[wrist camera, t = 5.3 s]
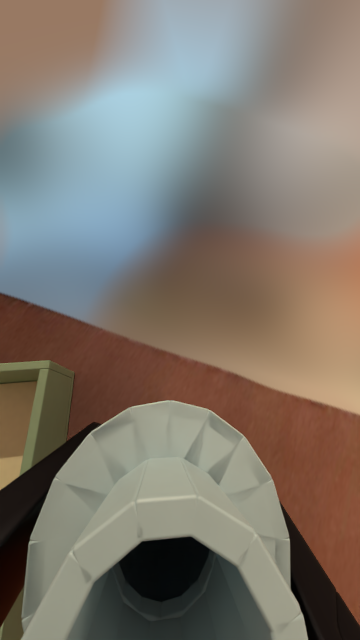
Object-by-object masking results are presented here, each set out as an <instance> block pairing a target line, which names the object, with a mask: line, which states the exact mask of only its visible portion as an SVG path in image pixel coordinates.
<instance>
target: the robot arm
mask: <svg viewBox="0 0 360 640" xmlns="http://www.w3.org/2000/svg"><path fill="white" fill-rule="evenodd" d="M101 425H102V424H99V423H96V422H93V423H91V424H90V425H88V426H87V427H86V428H84V429H83V430H82V431H80V432H79V433H78V434H76V435H75V436H73V437H72V438H71V439H69V440H68V441H67V442H65V443H64V444H63V445H61V446H60V447H58V448H57V449H56V450H54V451H53V452H52V453H50V454H49V455H48V456H46V457H45V458H43V459H42V460H41V461H39V462H38V463H37V464H35V465H34V466H32V467H31V468H30V469H28V470H27V471H26V472H24V473H23V474H22V475H20V476H19V477H17V478H16V479H15V480H13V481H12V482H11V483H9V484H8V485H7V486H5V487H4V488H2V489H1V490H0V628H1V626H2V624H3V622H4V620H5V619H6V617H7V615H8V613H9V612H10V610H11V608H12V606H13V605H14V603H15V601H16V599H17V597H18V596H19V594H20V592H21V590H22V589H23V587H24V584H25V574H26V564H27V554H28V544H29V541H30V536H31V534H32V532H33V529H34V527H35V524H36V522H37V519H38V517H39V514H40V512H41V509H42V507H43V504H44V502H45V499H46V497H47V494H48V492H49V489H50V487H51V484H52V482H53V479H54V478H55V476H56V474H57V473H58V472H59V470H60V469H61V468H62V467H63V465H64V464H65V463H66V462H67V460H68V459H69V458H70V457H71V455H72V454H73V453H74V452H75V450H76V449H77V448H78V447H79V445H80V444H81V443H82V442H83V440H84V439H85V438H86V437H87V435H88V434H89V433H91V432H92V431H93V430H94V429H96V428H97V427H99V426H101ZM279 503H280V506H281V509H282V513H283V516H284V520H285V523H286V527H287V530H288V533H289V539H290V584H291V591H292V593H293V595H294V596H295V598H296V600H297V601H298V603H299V606H300V609H301V612H302V614H303V617H304V621H305V626H306V631H307V636H308V640H360V626H359V624H358V623H357V621H356V620H355V618H354V616H353V615H352V613H351V612H350V610H349V609H348V607H347V606H346V604H345V603H344V601H343V599H342V598H341V596H340V595H339V593H338V592H336V589H335V587H334V585H333V584H332V582H331V581H330V579H329V578H328V576H327V574H326V573H325V571H324V570H323V568H322V567H321V565H320V564H319V562H318V560H317V559H316V557H315V556H314V554H313V553H312V551H311V549H310V548H309V546H308V545H307V543H306V542H305V540H304V538H303V537H302V535H301V534H300V532H299V531H298V529H297V528H296V526H295V524H294V523H293V521H292V520H291V518H290V517H289V515H288V513H287V512H286V510H285V509H284V507H283V506H282V504H281V502H280V501H279Z"/></svg>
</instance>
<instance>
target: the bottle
mask: <svg viewBox="0 0 360 640" xmlns="http://www.w3.org/2000/svg"><path fill="white" fill-rule="evenodd" d="M21 618H22V628H23V632H24V634H23V636H22V638H21V640H308V636H307V631H306V626H305V621H304V617H303V614H302V612H301V609H300V606H299V603H298V601H297V600H296V598H295V596H294V595H293V593H292V591H291V584H290V539H289V533H288V530H287V527H286V523H285V520H284V516H283V513H282V509H281V506H280V503H279V499H278V496H277V492H276V489H275V485H274V482H273V480H272V478H271V476H270V474H269V472H268V471H267V469H266V468H265V466H264V465H263V463H262V462H261V460H260V459H259V457H258V456H257V454H256V453H255V451H254V450H253V448H252V447H251V445H250V444H249V442H248V440H247V439H246V437H244V436H243V434H241V433H240V432H239V431H237V430H236V429H235V428H233V427H232V426H231V425H230V424H228V423H227V422H226V421H224V420H223V419H222V418H220V417H219V416H218V415H216V414H215V413H214V412H212V411H211V410H208V409H206V408H202V407H198V406H194V405H190V404H186V403H182V402H178V401H174V400H171V401H170V400H166V401H161V402H155V403H149V404H144V405H138V406H133V407H131V408H128V409H126V410H124V411H123V412H121V413H120V414H118V415H116V416H115V417H113V418H112V419H110V420H109V421H107V422H105V423H104V424H102V425H101V426H99V427H97V428H96V429H94V430H93V431H92V432H91V433H89V434H88V435H87V437H86V438H85V439H84V440H83V442H82V443H81V444H80V445H79V447H78V448H77V449H76V450H75V452H74V453H73V454H72V455H71V457H70V458H69V459H68V460H67V462H66V463H65V464H64V465H63V467H62V468H61V469H60V470H59V472H58V473H57V474H56V476H55V478H54V479H53V482H52V484H51V487H50V489H49V492H48V494H47V497H46V499H45V502H44V504H43V507H42V509H41V512H40V514H39V517H38V519H37V522H36V524H35V527H34V529H33V532H32V534H31V536H30V541H29V544H28V554H27V564H26V574H25V584H24V594H23V604H22V615H21Z"/></svg>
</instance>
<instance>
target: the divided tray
mask: <svg viewBox="0 0 360 640" xmlns="http://www.w3.org/2000/svg"><path fill="white" fill-rule="evenodd" d="M74 374H75V373H74V372H72V371H70V370H68V369H66V368H64V367H62V366H60V365H58V364H56V363H54V362H52V361H50V360H46V361H31V362H16V363H2V364H0V490H1V489H2V488H4V487H5V486H7V485H8V484H9V483H11V482H12V481H13V480H15V479H16V478H17V477H19V476H20V475H22V474H23V473H24V472H26V471H27V470H28V469H30V468H31V467H32V466H34V465H35V464H37V463H38V462H39V461H41V460H42V459H43V458H45V457H46V456H48V455H49V454H50V453H52V452H53V451H54V450H56V449H57V448H58V447H60V446H61V445H63V444H64V443H65V442H66V439H67V431H68V423H69V415H70V406H71V398H72V390H73V382H74ZM23 594H24V587H23V589H22V590H21V592H20V594H19V596H18V597H17V599H16V601H15V603H14V605H13V606H12V608H11V610H10V612H9V613H8V615H7V617H6V619H5V620H4V622H3V624H2V626H1V628H0V640H21V638H22V636H23V634H24V632H23V628H22V618H21V615H22V604H23Z"/></svg>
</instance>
